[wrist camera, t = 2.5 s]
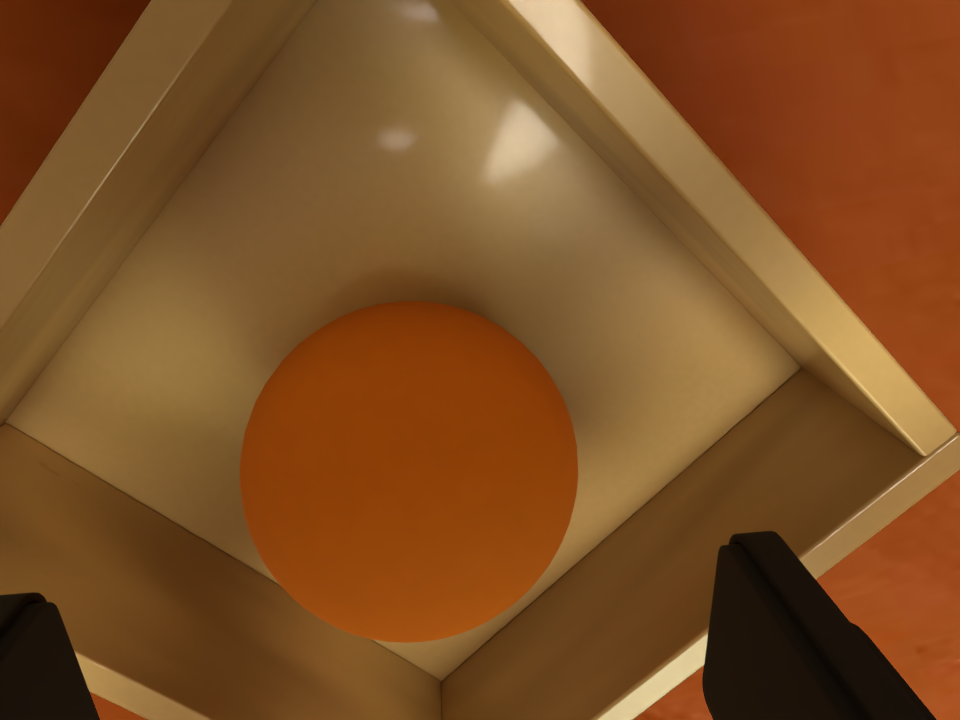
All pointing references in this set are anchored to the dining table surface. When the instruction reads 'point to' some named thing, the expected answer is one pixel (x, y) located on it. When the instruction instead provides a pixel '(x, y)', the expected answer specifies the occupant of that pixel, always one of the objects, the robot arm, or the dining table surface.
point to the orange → (408, 471)
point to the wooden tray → (430, 278)
